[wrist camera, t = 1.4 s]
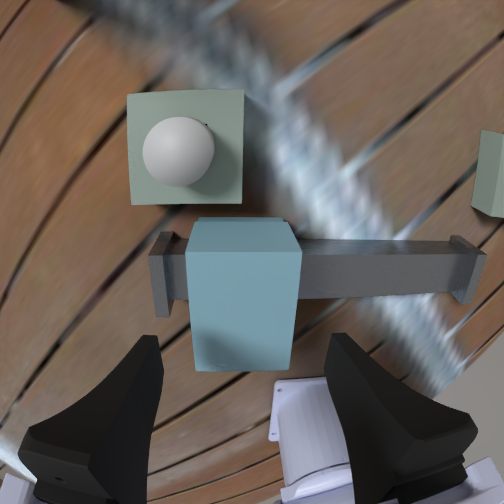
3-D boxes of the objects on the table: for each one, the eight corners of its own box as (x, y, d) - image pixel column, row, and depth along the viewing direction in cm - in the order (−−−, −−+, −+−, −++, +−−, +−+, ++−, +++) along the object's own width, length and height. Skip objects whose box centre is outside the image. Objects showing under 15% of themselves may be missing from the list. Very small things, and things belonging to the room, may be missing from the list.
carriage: (275, 309, 22) (288, 369, 17) (203, 309, 22) (195, 370, 16) (282, 211, 19) (302, 252, 14) (198, 210, 19) (185, 252, 14)
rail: (447, 281, 23) (471, 303, 20) (166, 286, 22) (156, 317, 18) (459, 235, 21) (486, 254, 18) (161, 231, 20) (148, 255, 17)
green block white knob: (240, 192, 19) (242, 215, 15) (143, 193, 19) (119, 217, 15) (242, 92, 17) (246, 85, 13) (140, 96, 16) (112, 92, 12)
